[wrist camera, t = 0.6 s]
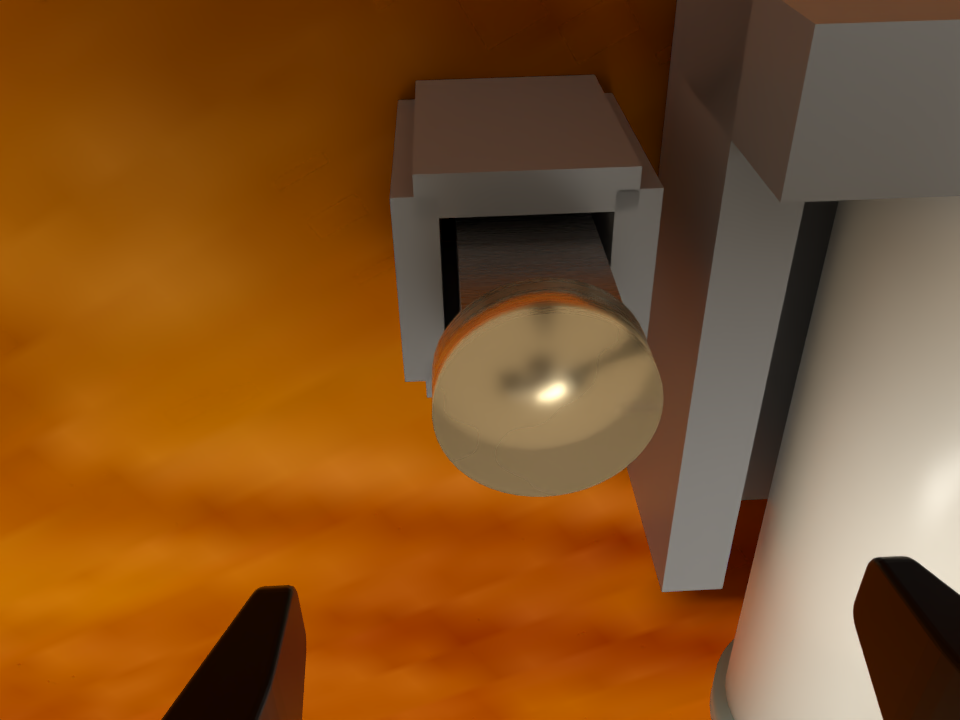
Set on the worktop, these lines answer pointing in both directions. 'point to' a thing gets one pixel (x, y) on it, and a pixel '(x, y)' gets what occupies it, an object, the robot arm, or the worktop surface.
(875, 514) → the cylinder
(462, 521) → the worktop surface
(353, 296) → the worktop surface
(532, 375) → the release plunger
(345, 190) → the worktop surface
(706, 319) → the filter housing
